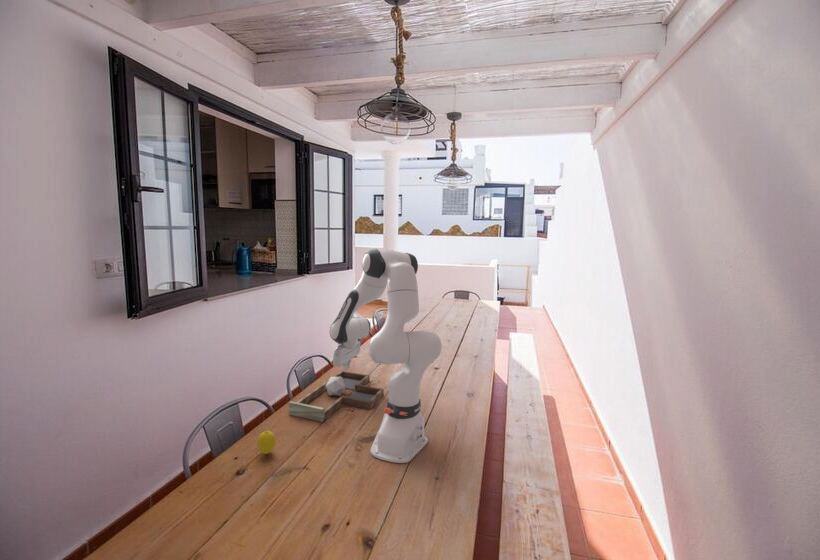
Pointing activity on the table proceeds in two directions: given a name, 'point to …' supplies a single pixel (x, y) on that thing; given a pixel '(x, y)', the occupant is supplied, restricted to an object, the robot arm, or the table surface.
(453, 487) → the table surface
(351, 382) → the end trap mat
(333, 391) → the die
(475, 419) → the table surface
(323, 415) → the box
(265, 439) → the lemon
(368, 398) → the side trap mat
